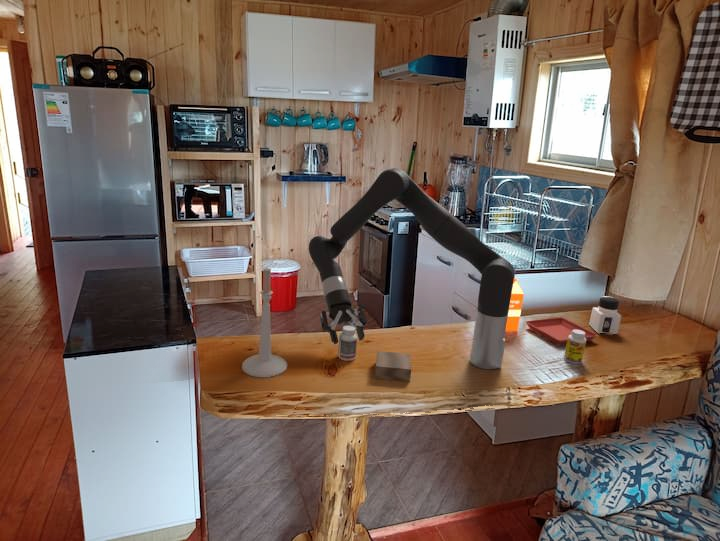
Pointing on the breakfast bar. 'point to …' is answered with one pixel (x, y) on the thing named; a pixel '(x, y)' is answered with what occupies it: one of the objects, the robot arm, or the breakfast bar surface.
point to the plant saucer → (557, 329)
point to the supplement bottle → (575, 347)
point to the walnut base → (393, 366)
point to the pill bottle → (347, 343)
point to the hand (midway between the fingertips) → (349, 341)
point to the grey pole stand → (265, 341)
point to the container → (606, 316)
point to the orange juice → (514, 307)
